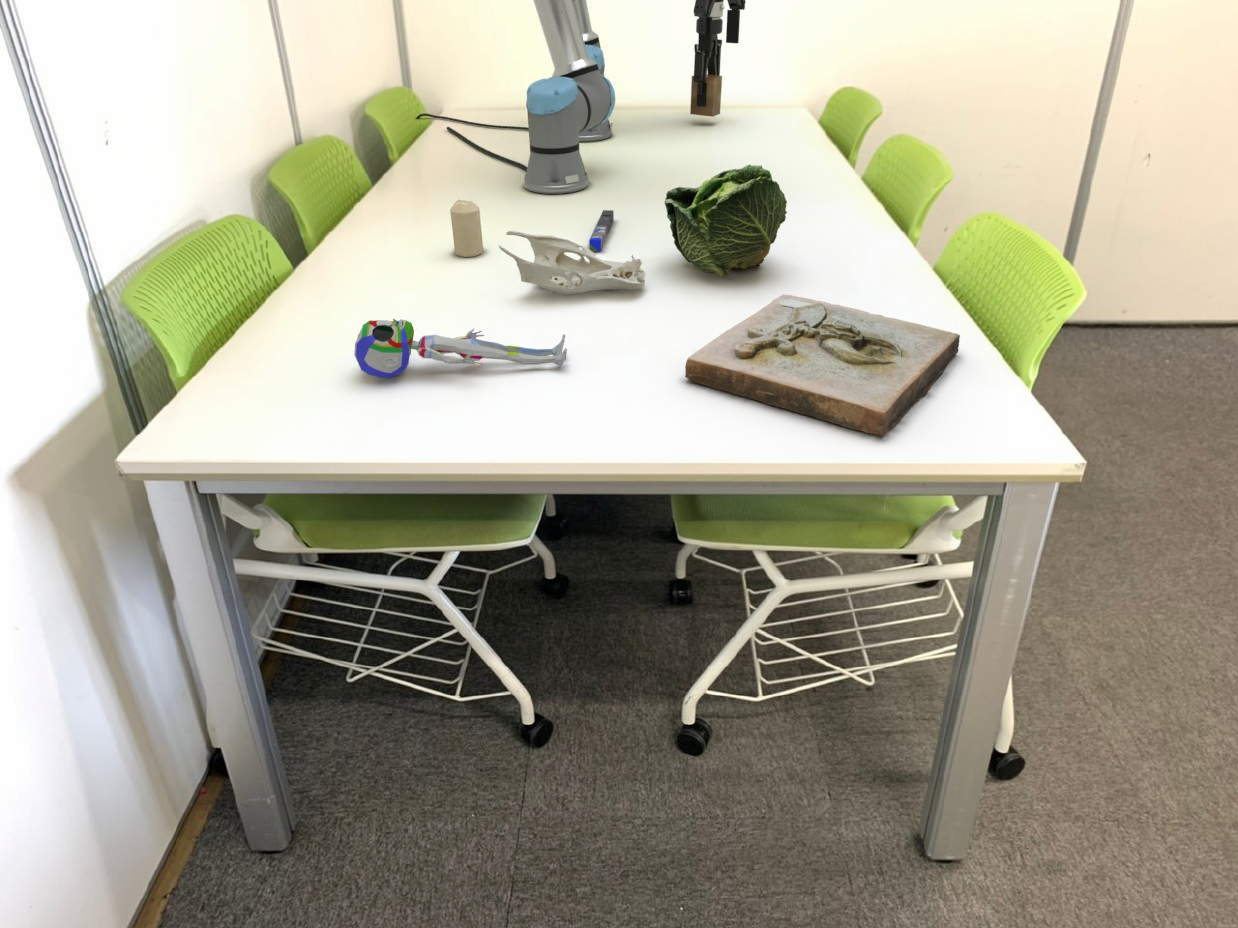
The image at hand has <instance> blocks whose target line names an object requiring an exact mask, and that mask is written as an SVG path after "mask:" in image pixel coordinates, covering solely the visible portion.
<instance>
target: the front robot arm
mask: <svg viewBox="0 0 1238 928" xmlns="http://www.w3.org/2000/svg"><path fill="white" fill-rule="evenodd" d="M532 2H533V4H534V8H535V10H536V13H537V16H538V17H537V18H538V20H539V23H540V27H541V29H542V32H543V36H544V39H545V43H546V45H547V49H548V52H549V56H550V58H551V61H552V65H553V67H554V70H553V73H552V76H551V77H548V78H541V79H538V80H535V81H534V82H532V83H531V84H529V86H528V87H527V89H526V102H525V107H526V112H527V128H529V130H528V140H529V141H528V142H529V157H528V162H527V166H526V165H525V164H523V163H521V162H518V161H516V160H513V159H510V158H507V157H505V156H502V155H500V154H497V153H495V152H492V151H490V150H488V149H486V148H484V147H482V146H480V145H478V144H477V143H475V142H473V141H472V140H470V139H468V138H467V137H465V136H464V135H463V134H461V133H460V132H458V131H457V130H456V129H453V128H452V127H450V126H446V130H447V131H448V132H450V133H452V134H454V135H455V136H457V137H458V138H459V139H460V140H462V141H463V142H465V143H467V144H468V145H470V146H471V147H473V148H475V149H476V150H479V151H481V152H483V154H487V155H489V156H490V157H493V158H495V159H498V160H500V161H503V162H506V163H508V164H511V165H514V166H515V167H518V168H521V169H523V170H524V171H526V172H525V175H524V178H523V183H524V188H525V189H526V190H527V191H530V192H531V193H535V194H536V193H537V194H543V195H544V194H545V195H562V194H570V193H576V192H579V191H583V190H584V189H586V188H587V187H589V175H588V173H587V171H586V168H585V164H584V161H583V158H582V156H581V153H580V142H579V133H580V132H582V131H585V130H588V129H591V128H594V127H597V126H599V125H600V124H602V123H603V122H605V121H606V120H607V119H608V120H609V118H610V117H611V116H612V114H613V111H614V109H615V105H616V93H615V89H614V86H613V84H612V82H611V80H610V79H609V78H607V77H605V75H604V76H603V75H601V74H600V71H599V68H598V64H597V62H595V61H593V60H592V59H590V58H589V56H588V53H587V50H586V46H585V43H584V40H583V36H582V33H581V29H580V26H579V23H578V19H577V16H576V12H575V9H574V6H573V2H572V0H532ZM714 3H715V0H695V2H694V8H693V15H694V17H697V16H698V17H699V34H698V39H697V41H698V43H697V44H698V51H708V52H710V51H711V44H712V17H710V15H711V12H712V9H713V6H714ZM727 5H728V7H729V9H727V10H726V29H725V31H726V34H725V43H726V44H739V42H740V39H739V38H740V23H741V22H740V20H741V10H742V11H743V10H745V9H746V0H727ZM698 17H697V18H698Z"/></svg>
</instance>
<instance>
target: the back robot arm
mask: <svg viewBox="0 0 1238 928" xmlns="http://www.w3.org/2000/svg"><path fill="white" fill-rule="evenodd" d="M724 1H725V0H715V3H714V6H713V9H712V12H711V15H710V17H712V44H711V51H710V52H708V51H698V43H695V44H694V47H693V49H694V63H693V76H694V82H698V83H697V106H703V107H705V106H706V91H707V83H705V81H706V74H709V75H720V76H721V57H722V46H723V39H719V38H718V35H720V34H722V33H723V22H724V20H723V19H722V17H723V16H724V10H725V6H724V3H725V2H724ZM572 2H573V6H574V9H575V12H576V16H577V19H578V23H579V26H580V29H581V33H582V36H583V40H584V43H585V46H586V50H587V53H588V56H589V58H590V59H592V60H593V61H595V62H597V64H598V68H599V71H600V74H601V75H603V76H604V77H605V68H606V64H605V63H606V62H605V57H604V51H603V49H602V48H601V42H600V37H599V34H598V33H596V32H595V31H594V30H593V29H592V23H591V17H590V12H589V8H588V2H587V0H572ZM696 17H697V19H696V21H695V22H696V23H695V32H696V34H698V35H699V17H698V16H696ZM421 117H429V118H433V119H440V120H441V119H442V120H447V121H453V122H458V123H463V124H467V125H472V126H478V127H484V128H492V129H493V128H495V129H508V130H523V131H529V128H528V127H526V126H525V127H524V126H513V125H512V126H511V125H510V126H509V125H495V124H486V123H479V122H473V121H467V120H465V119H458V118H453V117H448V116H444V115H443V116H441V115H435V114H431V113H420V114H418V115H417V116H416V117H415V119H417V120H418V119H420V118H421ZM612 128H613V122H611V123H610V120H609V118H608V119H607V120H606V121H605V122H603V123H602V124H600V125H599V126H597V127H594V128H591V129H588V130H585V131H582V132H580V133H579V143H580V142H581V143H583V142H584V143H585V142H586V143H587V142H599V141H603V140H607V139H610V138H612Z"/></svg>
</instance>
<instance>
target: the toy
mask: <svg viewBox="0 0 1238 928" xmlns="http://www.w3.org/2000/svg"><path fill="white" fill-rule="evenodd" d="M474 331H475V328H472V329H471V330H469V331H468V332H467V333H466V334H465V335H463V336H458V337H449V336H448V337H447V336H442V335H439V334H428V335H423V336H421V338H420V339H419V341H417V340H414V336H415V329H414V326H413V324H412V322H410V321H408V320H407V319H399V320H397V319H395V318H392V320H387V319H379V320H368V321H367V322H365V323H364V324H362V326H361V329H360V331H359V333H358V334H357V338H356V340H355V342H354V354H353V355H354V357H355V359H356V362H357V364H358V366H359V369H360V370H361V372H364V373H366V374H367V375H370V376H373V377H377V378H382V379H383V378H384V379H392V378H394V377H396V376H398V375H400V374H401V375H402V374H403V372H404V371H405V370H406V368H407V367H408V366H409V364H410V357H411V355H412V350H415V351H417V353H418V356H419V357H421V358H422V359H430V360H434V361H438V362H442V363H444V364H449V365H458V364H459V365H461V364H465V365H471V366H477V367H479V368H480V367H481V366H482V365H483V363H482V362H478V361H480V360H482V359H487V360H488V359H489V360H503V361H509V362H514V363H517V364H520V365H528V366H529V365H542V364H550V363H553V364H555V365H557V366H559V367H562V366H563V364H564V362H565V361H566V360H567V357H568V355H567V353H568V348H566V347H565V348H564V345H565V340H566V334H565V333H563V334H562V338H561V340H560V341H559V343H558V344H556V345H555V346H554V347H552V348H533V347H532V348H531V347H523V346H518V345H517V346H516V345H504V344H501V343H498V342H494V341H488V340H482V339H478V338H479V337H480V338H481V337H485V334H480V333H482V332H483V331H482V330H479V331H476V332H474ZM563 349H564V350H563ZM453 353H455V354H457V355H459V357H458V356H455V355H448V354H453ZM445 354H447V355H445Z"/></svg>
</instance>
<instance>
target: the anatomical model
mask: <svg viewBox="0 0 1238 928" xmlns="http://www.w3.org/2000/svg"><path fill="white" fill-rule="evenodd" d="M506 235H507V236H516V237H520V238H523V239H527V241H529V242H530V247H531V249H532V251H533V254H534V255H533V256H534V261H533V262H532V261H529V260H526V259H523V258H521V257H519V256H517V255H516V254H514V253H512V252H510V251H509V250H507V248H505V247H503V246H502V245H500V244H499V245H498V248H499V250H501V251H502V252H503V253H505V254H506V255H508V256H509V257H511V258H512V259H514V261H515V262H516V266H517V269H518V272H519V274H520V282H522V283H527V284H532V285H534V286H535V285H536V286H538V287H539V288H541V289H544V290H547V291H550V292H552V293H556V294H565V295H577V294H581V293H585V292H590V291H598V290H599V291H600V290H616V289H617V290H637V289H642V288H644V287H645V285H646V279H645V277H646V272H645V270H644V269H642V268H641V266H642V264H643V262H642V261H641V260H642V259H640V258H634V255H633V254H632V255H631V259H632V260H631V261H630V260H627V261H625V262H622V261H613V260H605V259H601V258H599V257H597V256H596V253H595V252H594V251H591V250H589V248H587V247H585V246H584V245H581V244H578V243H577V242H574V241H572V240H570V239H566V238H561V237H558V236H554V235H541V234H532V233H525V232H522V231H521V232H520V231H516V230H507V231H506ZM580 248H581V249H580ZM565 253H571V254H575V255H577V256H579V257H580V258H579V259H575V258H572V257H571V256H570V255H569V256H568V255H567V254H565ZM584 257H585V258H586V259H587V260H588V261H587V260H585V258H584Z"/></svg>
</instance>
